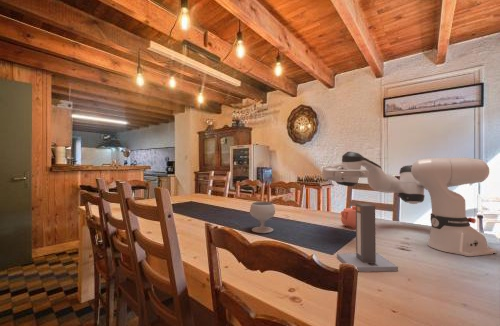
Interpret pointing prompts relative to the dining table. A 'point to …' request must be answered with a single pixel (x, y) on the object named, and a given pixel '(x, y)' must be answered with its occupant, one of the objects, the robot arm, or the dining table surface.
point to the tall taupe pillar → (365, 233)
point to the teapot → (349, 217)
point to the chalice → (262, 215)
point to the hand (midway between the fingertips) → (352, 174)
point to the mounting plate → (379, 265)
